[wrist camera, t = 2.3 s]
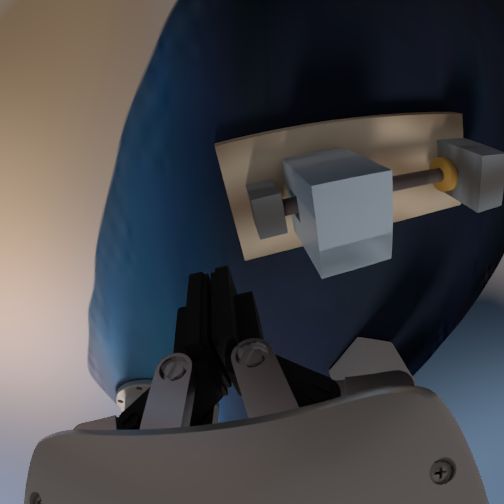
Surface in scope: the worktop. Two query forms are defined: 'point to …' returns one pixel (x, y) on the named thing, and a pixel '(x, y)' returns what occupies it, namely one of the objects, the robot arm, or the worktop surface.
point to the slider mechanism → (372, 147)
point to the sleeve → (341, 209)
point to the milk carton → (367, 359)
